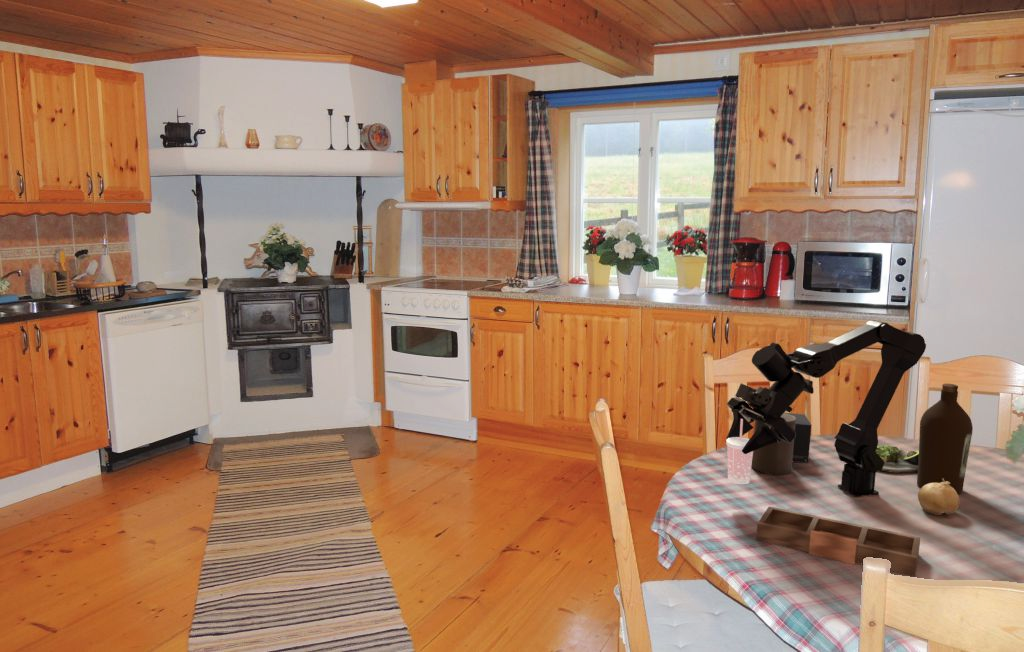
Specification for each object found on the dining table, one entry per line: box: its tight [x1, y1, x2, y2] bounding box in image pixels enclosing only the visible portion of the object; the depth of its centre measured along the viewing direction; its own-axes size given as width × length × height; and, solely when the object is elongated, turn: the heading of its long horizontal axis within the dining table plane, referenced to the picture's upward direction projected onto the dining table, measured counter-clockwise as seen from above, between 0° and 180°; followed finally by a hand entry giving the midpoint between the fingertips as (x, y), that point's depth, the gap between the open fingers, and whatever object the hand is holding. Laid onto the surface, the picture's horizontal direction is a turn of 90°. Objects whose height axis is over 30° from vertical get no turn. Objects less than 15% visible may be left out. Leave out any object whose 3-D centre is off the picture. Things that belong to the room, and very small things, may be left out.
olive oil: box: [916, 383, 973, 496], centre depth 177 cm, size 11×11×25 cm
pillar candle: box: [751, 412, 796, 476], centre depth 190 cm, size 10×10×15 cm
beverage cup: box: [725, 419, 753, 485], centre depth 166 cm, size 6×6×14 cm
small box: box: [785, 412, 812, 464], centre depth 200 cm, size 11×6×10 cm, turn 168°
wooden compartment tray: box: [755, 506, 921, 577], centre depth 148 cm, size 28×11×4 cm, turn 59°
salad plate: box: [876, 445, 919, 474], centre depth 196 cm, size 19×18×5 cm
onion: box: [917, 478, 961, 516], centre depth 165 cm, size 8×8×7 cm
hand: (734, 447), depth 166 cm, fingers closed on beverage cup, 6 cm apart
